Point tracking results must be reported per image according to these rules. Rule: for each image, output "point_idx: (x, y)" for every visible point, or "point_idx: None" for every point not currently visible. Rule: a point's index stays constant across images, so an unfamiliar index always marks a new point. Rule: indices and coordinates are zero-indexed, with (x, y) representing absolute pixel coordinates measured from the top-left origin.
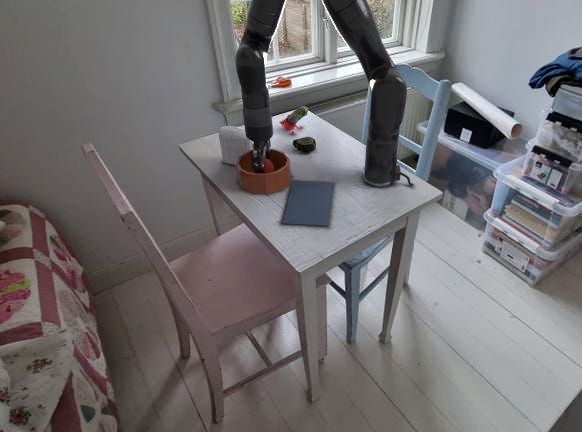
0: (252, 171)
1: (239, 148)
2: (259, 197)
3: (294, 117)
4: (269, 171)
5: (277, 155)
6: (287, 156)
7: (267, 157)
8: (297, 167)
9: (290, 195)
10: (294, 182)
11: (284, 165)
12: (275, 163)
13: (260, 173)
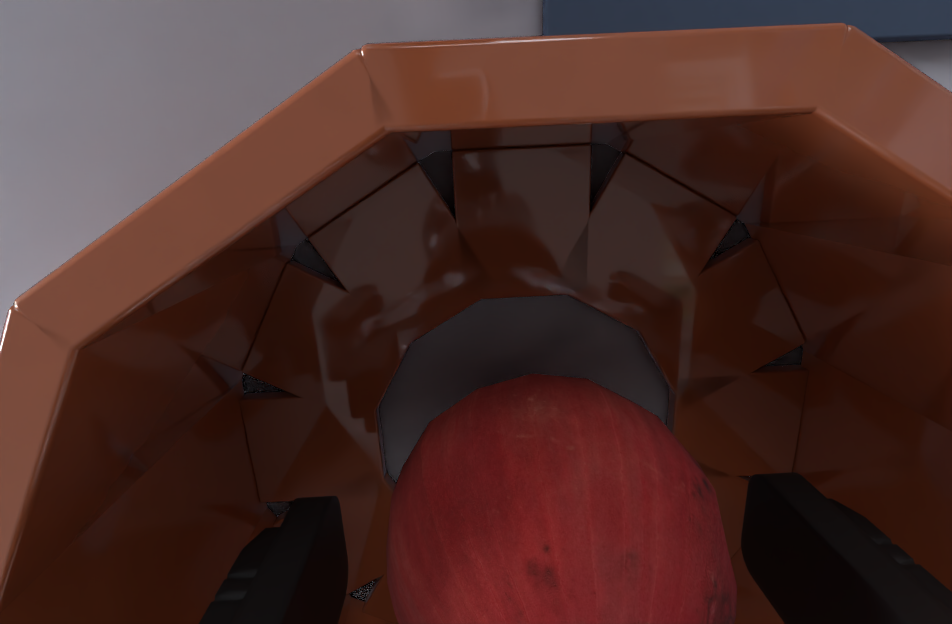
0: None
1: None
2: None
3: None
4: (679, 448)
5: (121, 448)
6: (234, 158)
7: (301, 614)
8: (129, 65)
9: (935, 14)
10: (593, 18)
11: (278, 248)
12: (211, 403)
13: (934, 595)
